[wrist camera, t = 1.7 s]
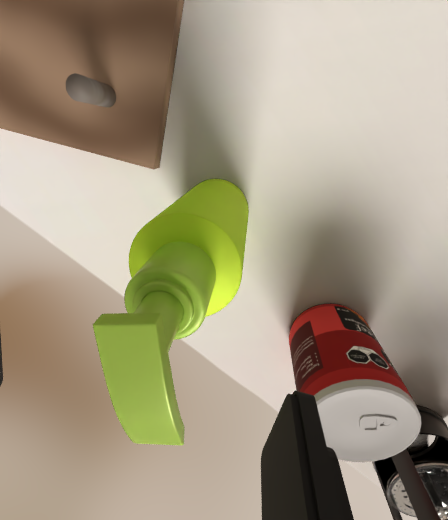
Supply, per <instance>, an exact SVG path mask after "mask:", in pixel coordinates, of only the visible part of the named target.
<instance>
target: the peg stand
mask: <svg viewBox="0 0 448 520" xmlns="http://www.w3.org/2000/svg"><path fill="white" fill-rule="evenodd" d="M183 4H184V0H0V128H1V129H5V130H9V131H12V132H16V133H20V134H24V135H27V136H31V137H35V138H39V139H42V140H46V141H50V142H54V143H57V144H61V145H65V146H69V147H72V148H76V149H80V150H84V151H87V152H91V153H95V154H99V155H102V156H106V157H110V158H114V159H117V160H121V161H125V162H129V163H132V164H136V165H140V166H144V167H147V168H151V169H156V168H159V166H160V159H161V153H162V146H163V139H164V132H165V126H166V119H167V112H168V105H169V99H170V92H171V85H172V78H173V72H174V65H175V58H176V51H177V45H178V38H179V31H180V24H181V18H182V11H183Z"/></svg>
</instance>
